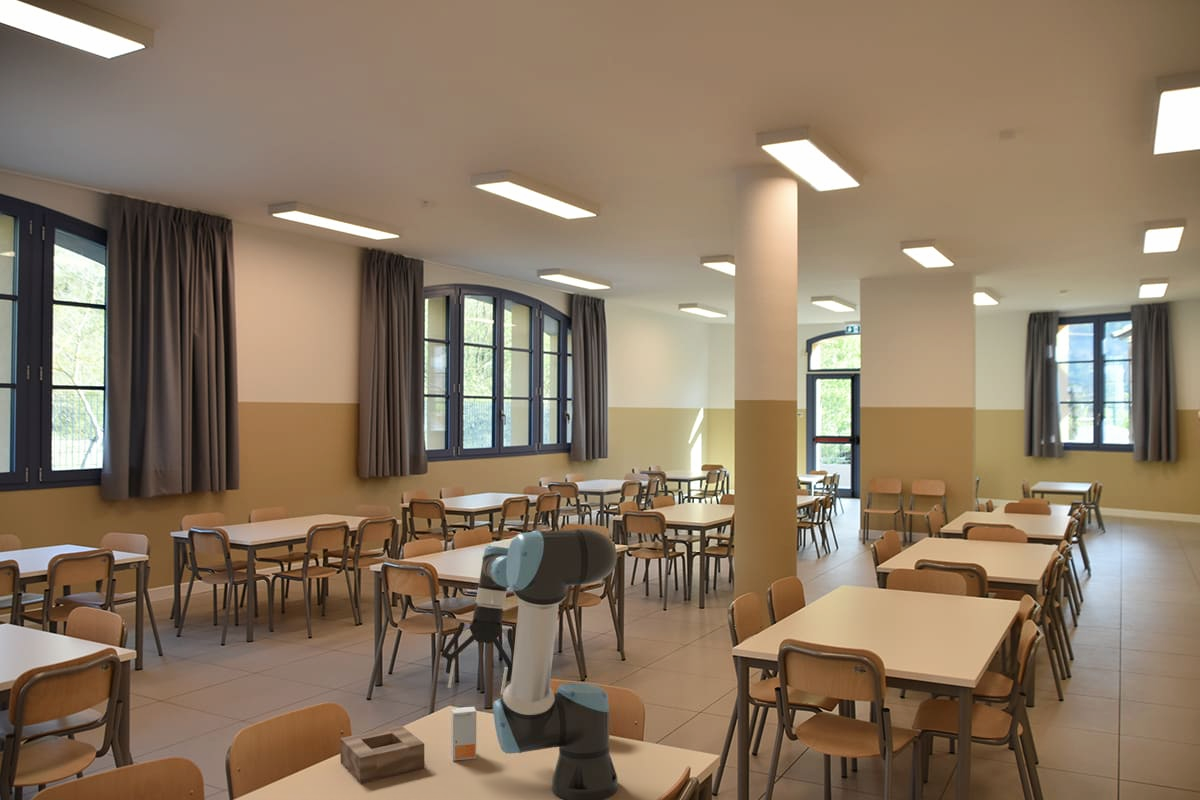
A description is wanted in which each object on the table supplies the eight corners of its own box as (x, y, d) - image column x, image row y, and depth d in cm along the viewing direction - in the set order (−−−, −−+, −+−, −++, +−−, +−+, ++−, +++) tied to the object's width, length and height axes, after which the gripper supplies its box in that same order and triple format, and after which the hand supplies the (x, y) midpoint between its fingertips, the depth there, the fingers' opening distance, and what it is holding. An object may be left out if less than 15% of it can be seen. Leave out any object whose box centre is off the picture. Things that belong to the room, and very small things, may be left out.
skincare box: (452, 761, 214) (452, 713, 214) (451, 755, 218) (450, 708, 218) (477, 758, 215) (476, 710, 216) (475, 752, 219) (474, 705, 220)
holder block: (424, 768, 210) (424, 743, 210) (360, 783, 201) (360, 757, 201) (401, 748, 223) (401, 725, 223) (340, 762, 214) (340, 738, 215)
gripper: (536, 611, 227) (523, 694, 222) (442, 598, 224) (428, 682, 220) (537, 613, 219) (524, 699, 215) (441, 600, 217) (425, 686, 213)
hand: (475, 690), depth 218 cm, fingers open, 13 cm apart
